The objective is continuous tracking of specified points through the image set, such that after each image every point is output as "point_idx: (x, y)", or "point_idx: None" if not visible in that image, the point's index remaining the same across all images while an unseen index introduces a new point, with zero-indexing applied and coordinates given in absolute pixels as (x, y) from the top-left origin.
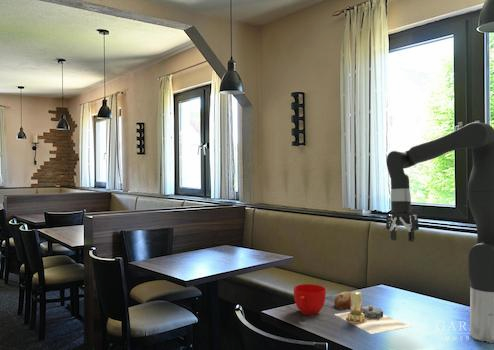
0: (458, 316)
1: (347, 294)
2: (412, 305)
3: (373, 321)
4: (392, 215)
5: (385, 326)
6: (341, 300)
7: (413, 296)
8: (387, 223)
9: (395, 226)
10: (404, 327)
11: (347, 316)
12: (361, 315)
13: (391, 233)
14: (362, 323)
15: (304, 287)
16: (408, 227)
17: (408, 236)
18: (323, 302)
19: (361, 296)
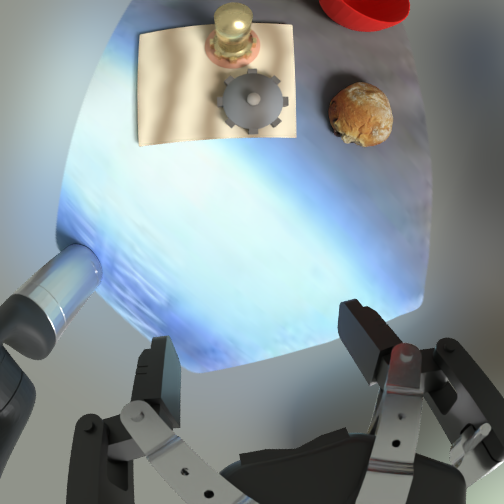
0: (189, 315)
1: (364, 104)
2: (291, 278)
3: (203, 77)
4: (461, 494)
5: (162, 86)
6: (355, 84)
7: (337, 322)
8: (472, 380)
9: (377, 411)
10: (140, 127)
11: (264, 41)
12: (217, 46)
13: (380, 331)
14: (203, 46)
15: (403, 8)
16: (145, 440)
17: (161, 363)
18: (326, 7)
19: (218, 28)
